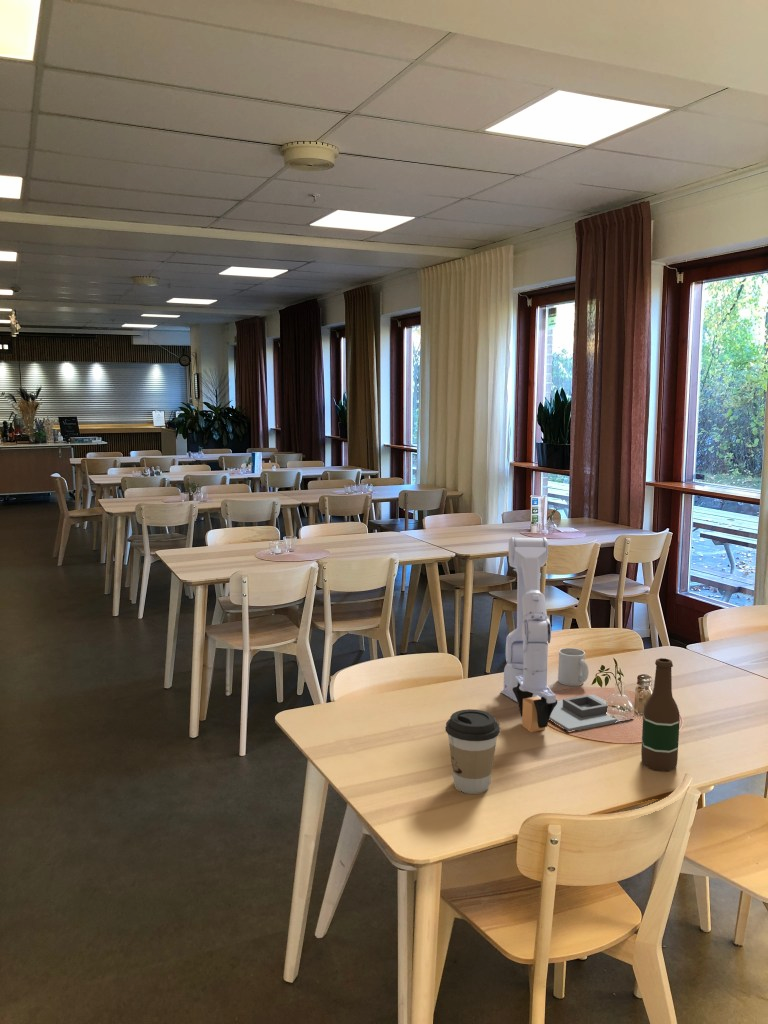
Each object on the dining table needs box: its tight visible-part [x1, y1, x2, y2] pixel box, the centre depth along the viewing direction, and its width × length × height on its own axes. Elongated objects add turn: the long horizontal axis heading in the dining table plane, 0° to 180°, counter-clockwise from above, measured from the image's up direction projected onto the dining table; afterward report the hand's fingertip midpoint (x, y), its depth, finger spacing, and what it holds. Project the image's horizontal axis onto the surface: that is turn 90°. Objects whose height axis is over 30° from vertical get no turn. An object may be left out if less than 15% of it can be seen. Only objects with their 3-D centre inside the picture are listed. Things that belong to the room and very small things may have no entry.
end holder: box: [549, 693, 635, 732], centre depth 208 cm, size 16×20×3 cm
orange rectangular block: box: [521, 696, 546, 733], centre depth 199 cm, size 4×4×7 cm
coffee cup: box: [445, 708, 501, 795], centre depth 169 cm, size 11×11×15 cm
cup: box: [557, 647, 589, 687], centre depth 229 cm, size 7×10×9 cm
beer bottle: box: [640, 657, 681, 773], centre depth 178 cm, size 8×8×24 cm
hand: (533, 721), depth 199 cm, fingers open, 7 cm apart
